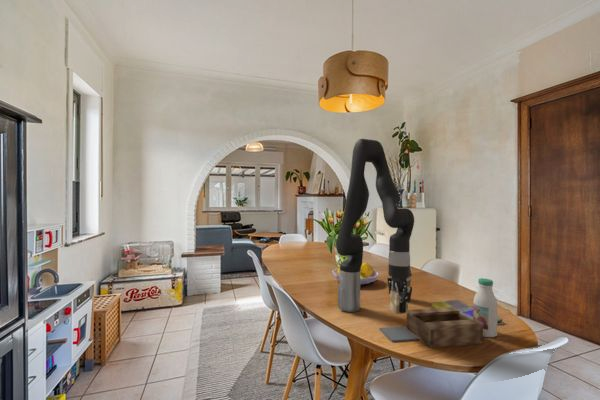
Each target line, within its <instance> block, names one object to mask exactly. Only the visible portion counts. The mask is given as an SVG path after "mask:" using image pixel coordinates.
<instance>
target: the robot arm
mask: <svg viewBox="0 0 600 400" xmlns="http://www.w3.org/2000/svg"><path fill="white" fill-rule="evenodd" d="M366 163H372V165H373V166H374V168H375V171H376V172H375V173H376V177H375V188H376V192H377V194H378V197H379V199H380V201H381V204H382V213H383V218H384V221H385V223H386V224H387V226H389V228H392V229H396V231H395V233H393V234H391V235H390V236H389V240H388V241H389V242H388V243H389V244H388V245H389V248H388V251H389V252H388V269H387V271H388V275H389V277H387V285H388V286H387V287H388V294H389V295H390V291H397V294H398V296H399V312H400V313H405V312H406V302H408V303H410V302H411V298H412V294H413V293H412V291H413V287H412V286H410V287H409V286H408V285H407V278H409V277H410V270H411V252H410V248H411V247H410V243H411V242H410V241H411V237H412V235H413V229H414V225H415V216H414V213H413V212H412V210H411V209H409V208H405V207H404V208H399V207H397V205H398V204H399V203H401V199H402V198H401V195H400V192H399V191H398V189H397V186H396V185H395V183H394V180H393V176H392V175H391V172H390V168H389V164H388V161H387V157H386V153H385V150H384V147H383V145H382V143H381V142H380V141H378V140H374V139H366V138H360V139H357V140H356V142H355V144H354V146H353V150H352V156H351V169H350V176H349V183H348V190H347V194H346V197H345V198H346V199H345V206H344V211H343V215H342V218H341V219H342V220H341V223H340V227H339V231H338V234H337V238H336V242H335V243H336V244H335V245H336V246H335V247H336V251H337V253H338V254H339V256H345V257H346V256H348V257H346V259H345V260H343V261H342V262H340V263H339V267H340V280H339V285H338V286H337V308H338V309H339V310H340V311H342V312H348V313H355V312H358V311H360V310H361V285H360V275H361V266H362V263H363V259H364V257H363V256H364V241H363V238H362V237H361V236H360V234H356V233H355V234H353V230H354V228H355V226H356V225H357V223H358V221H359V220H360V219H361V217H363V215H364V214H365V212H366V210H367V207H368V203H369V198H370V191H369V188H368V184H367V181H366V178H365V171H366V169H365V168H366ZM400 292H403V293H400ZM402 295H403V296H402Z"/></svg>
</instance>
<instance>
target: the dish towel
mask: <svg viewBox="0 0 600 400" xmlns="http://www.w3.org/2000/svg"><path fill="white" fill-rule="evenodd" d="M430 307H431V309H434V308H451V307H454V308H456V309H458V310H459V311H460V314H462V315H464V316H466V317H467V318H469V319H473V305H470V304H467V303H466V302H464V301H462V300H460V299H452V300H445V301H435V302H432V303H431V304H430ZM504 325H505V323H503V318H501V317H499V316H497V326H504Z"/></svg>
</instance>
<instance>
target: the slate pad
mask: <svg viewBox="0 0 600 400" xmlns="http://www.w3.org/2000/svg"><path fill="white" fill-rule="evenodd" d="M378 329H379V331H380V332H381V333H382V334H383V335H384V336H385V337H386V338H387V339H388V340H389V342H391V343H396V342H399V343H400V342H409V341H410V342H411V341H412V342H413V341H419V338H418V337H417V336H416V335H414V334H413V333H412V332H411V331H410V330H408V329H407V327H405V326H401V325H399V326H387V327H379V328H378Z"/></svg>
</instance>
